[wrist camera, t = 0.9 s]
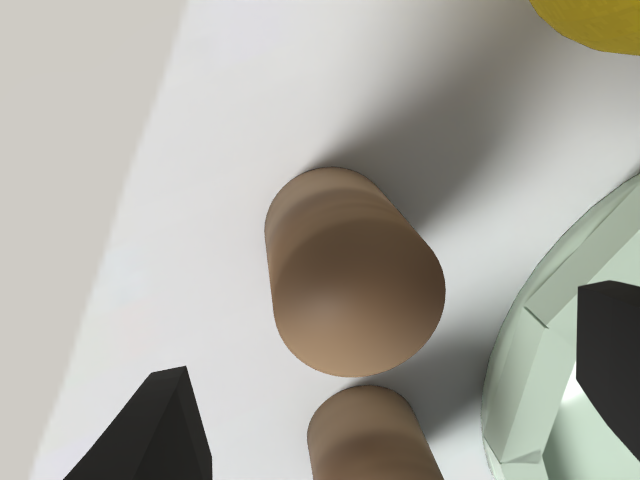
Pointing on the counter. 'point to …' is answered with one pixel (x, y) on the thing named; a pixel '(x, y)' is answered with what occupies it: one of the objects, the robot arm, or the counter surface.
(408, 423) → the bead
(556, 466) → the tray
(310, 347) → the bead
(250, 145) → the counter surface
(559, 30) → the lemon
